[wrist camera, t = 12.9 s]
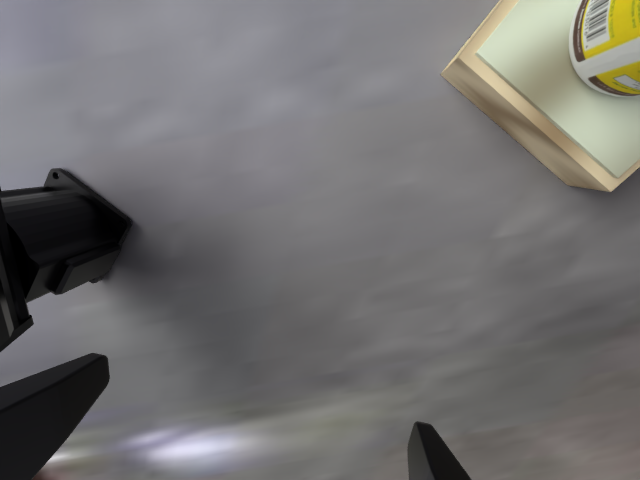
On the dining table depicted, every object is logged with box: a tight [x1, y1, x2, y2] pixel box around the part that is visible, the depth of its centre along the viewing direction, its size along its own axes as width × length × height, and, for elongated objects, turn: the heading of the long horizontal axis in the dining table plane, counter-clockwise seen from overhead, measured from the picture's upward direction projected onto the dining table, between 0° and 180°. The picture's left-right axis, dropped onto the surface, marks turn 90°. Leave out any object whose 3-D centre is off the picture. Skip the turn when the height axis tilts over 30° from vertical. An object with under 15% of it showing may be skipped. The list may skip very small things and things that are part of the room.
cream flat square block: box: [440, 0, 640, 192], centre depth 14 cm, size 10×10×4 cm
